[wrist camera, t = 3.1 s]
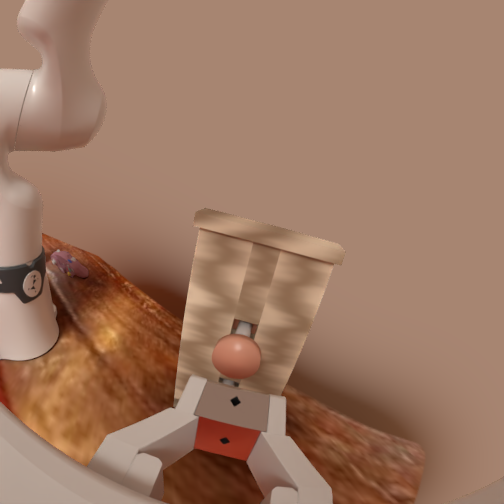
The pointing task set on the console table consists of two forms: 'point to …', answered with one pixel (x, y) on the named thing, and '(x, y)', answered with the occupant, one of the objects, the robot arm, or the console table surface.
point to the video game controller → (69, 264)
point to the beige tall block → (252, 296)
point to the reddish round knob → (237, 352)
